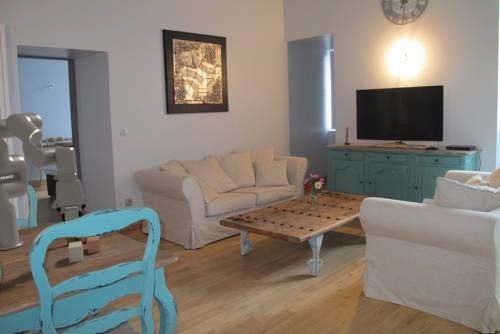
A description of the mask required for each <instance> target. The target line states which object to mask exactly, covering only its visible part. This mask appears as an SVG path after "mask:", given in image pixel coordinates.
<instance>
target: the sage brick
mask: <svg viewBox="0 0 500 334" xmlns="http://www.w3.org/2000/svg"><path fill="white" fill-rule="evenodd" d="M78 210H79V209H78V207H77V205H76V206H67V207H65V209H64V213H65V221H69V220H73V219H76V218H79V215H78Z"/></svg>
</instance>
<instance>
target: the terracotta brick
mask: <svg viewBox="0 0 500 334" xmlns="http://www.w3.org/2000/svg"><path fill="white" fill-rule="evenodd" d="M94 236H95V237H87V243H86V244H87V245H86V246H87V254H95V253H100V252H101V242H100V235H99V236H96V235H94Z"/></svg>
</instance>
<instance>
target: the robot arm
mask: <svg viewBox="0 0 500 334" xmlns="http://www.w3.org/2000/svg"><path fill="white" fill-rule="evenodd" d="M42 128H43V119H42V117H40V115H39V114H38V113H35V112H23V113H22V112H18V113H13V114H10V115H9V116H8V117H6V118H0V178H2V179H0V251H7V250H13V249H16V248H20V247H22V246H23V245H24V241H23V240H21V239H20V236H19V228H18V226H19V225H18V221H17V220H18V219H17V213H16V212H17V211H16V207H15V205H14V204H13V203H12V202H11V201H10V200H11V199H15V198H20V197H23V196H25V195H27V193H28V191H29V178H28V176H29V175H28V165H27V161H26V159H27V160H28V161H29V162H30V163H31V164H32V165H34V166H36V167H38V168H43V167H48V166H49V167H50V166H56V172H57V173H56V175H54V176H53V180H56V183H55V199H54V201H53V203H52V204H51V206H50V207H51V208H52V209H54V210H56V211H57V212H59V213H60V215H61V221H62V222H63V221H64V222H65V213H64V211H65V207H73V206H77V207H78V209H79V210H78V215H79V217H81V216H82V217H83V210H84V209H85V208H86V207H87V206H89V204H90V203H91V202H90V200H89V199H88V198H87V196H85V195H84V192H83V186H82V185H83V184H82V182H81V179H79V175H78V165H77V155H76V150H75V148H74V147H72V146H63V145H61V146H60V145H55V146H47V147H37V145H38V144H39V143H40V142H41V141H42V140H43V135H44V134H43V131H42ZM12 138H18V140H20V142H21V143H22V144H21V145H22V147H21V148H22V151H23V154H24V157H25V158H24V157H23V155H21V154H18V153H15V154H10V153H9V152H10V151H9V145H8V143H7V142H6V141H5V139H12ZM9 176H10V177H9ZM11 176H12V177H11ZM4 177H9V178H4Z"/></svg>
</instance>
